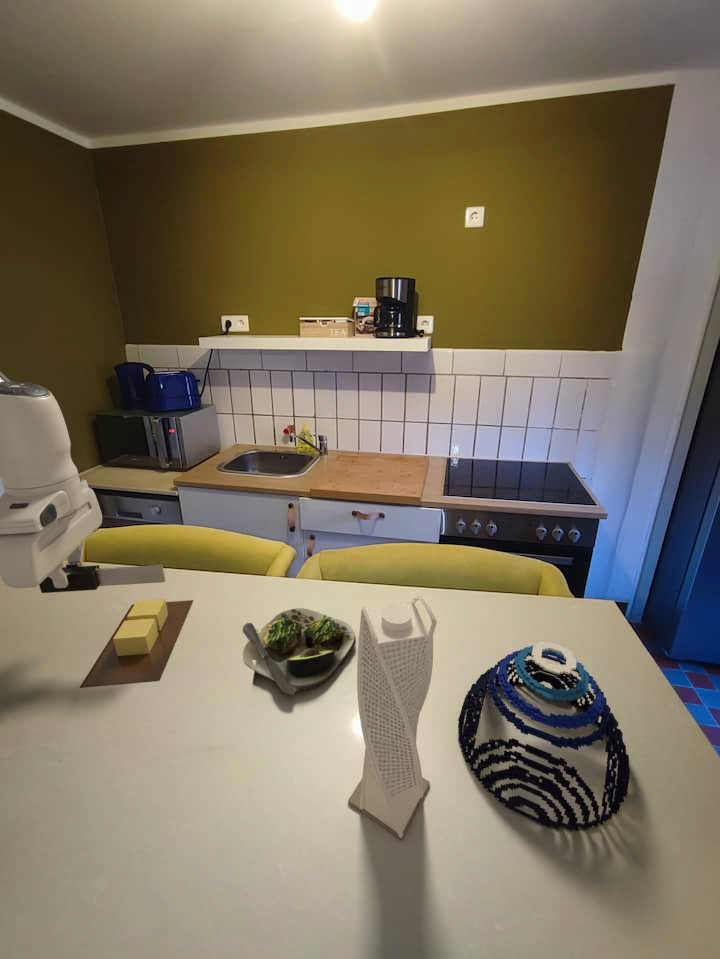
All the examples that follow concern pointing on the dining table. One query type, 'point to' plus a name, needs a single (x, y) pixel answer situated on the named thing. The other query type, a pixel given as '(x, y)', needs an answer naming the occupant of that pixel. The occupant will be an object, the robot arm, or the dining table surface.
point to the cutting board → (142, 665)
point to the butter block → (136, 637)
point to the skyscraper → (392, 711)
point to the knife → (105, 577)
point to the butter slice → (150, 611)
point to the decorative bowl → (545, 735)
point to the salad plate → (299, 648)
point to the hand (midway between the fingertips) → (70, 578)
